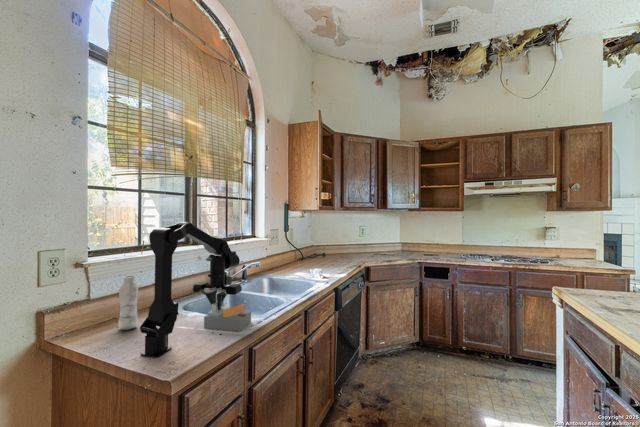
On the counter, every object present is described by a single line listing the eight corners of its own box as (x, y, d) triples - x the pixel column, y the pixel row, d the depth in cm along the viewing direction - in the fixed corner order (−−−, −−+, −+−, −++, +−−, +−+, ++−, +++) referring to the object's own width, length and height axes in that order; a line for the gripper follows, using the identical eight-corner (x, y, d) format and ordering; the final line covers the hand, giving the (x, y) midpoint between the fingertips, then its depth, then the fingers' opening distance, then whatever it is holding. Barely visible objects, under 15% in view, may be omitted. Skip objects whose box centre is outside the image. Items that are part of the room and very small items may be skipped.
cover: (219, 316, 115) (219, 305, 115) (207, 315, 116) (208, 304, 116) (228, 310, 122) (228, 300, 122) (217, 309, 122) (217, 299, 122)
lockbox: (240, 331, 111) (240, 319, 111) (203, 328, 114) (204, 316, 114) (251, 322, 121) (251, 311, 121) (217, 319, 124) (217, 308, 124)
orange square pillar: (245, 314, 117) (245, 304, 117) (225, 320, 109) (225, 310, 109) (242, 313, 118) (242, 304, 118) (222, 319, 110) (222, 309, 110)
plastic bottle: (122, 333, 108) (123, 279, 108) (115, 329, 112) (116, 276, 112) (141, 328, 113) (142, 276, 113) (134, 324, 117) (134, 274, 117)
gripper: (247, 268, 125) (247, 305, 125) (207, 266, 128) (207, 301, 128) (235, 273, 114) (234, 313, 114) (192, 271, 117) (191, 310, 117)
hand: (216, 309), depth 119 cm, fingers closed on cover, 2 cm apart
